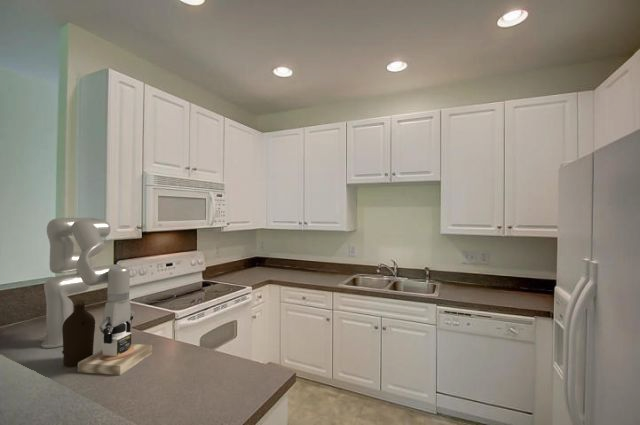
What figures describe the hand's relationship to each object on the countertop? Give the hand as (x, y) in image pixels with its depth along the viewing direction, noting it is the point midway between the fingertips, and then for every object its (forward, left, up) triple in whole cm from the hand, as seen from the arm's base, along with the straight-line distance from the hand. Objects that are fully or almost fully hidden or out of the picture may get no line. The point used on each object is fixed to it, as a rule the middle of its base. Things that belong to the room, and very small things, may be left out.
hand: (117, 338), depth 122 cm
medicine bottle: (0, 0, -6) cm, 6 cm away
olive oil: (-16, -2, -10) cm, 19 cm away
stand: (0, 0, -10) cm, 10 cm away
